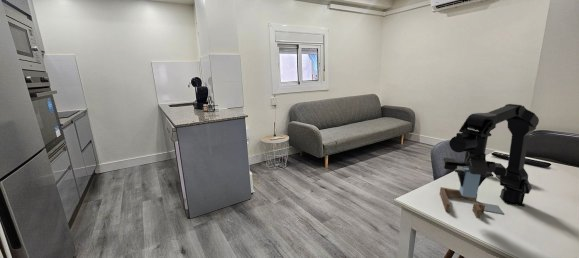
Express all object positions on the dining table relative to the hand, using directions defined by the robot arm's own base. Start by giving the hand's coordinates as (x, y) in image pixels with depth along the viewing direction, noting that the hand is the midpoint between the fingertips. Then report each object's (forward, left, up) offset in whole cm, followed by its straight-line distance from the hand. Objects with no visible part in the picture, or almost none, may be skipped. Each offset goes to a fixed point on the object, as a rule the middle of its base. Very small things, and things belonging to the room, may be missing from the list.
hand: (468, 187), depth 91 cm
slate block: (0, 0, -3) cm, 3 cm away
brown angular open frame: (-2, -9, -13) cm, 16 cm away
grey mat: (-12, -11, -13) cm, 21 cm away
